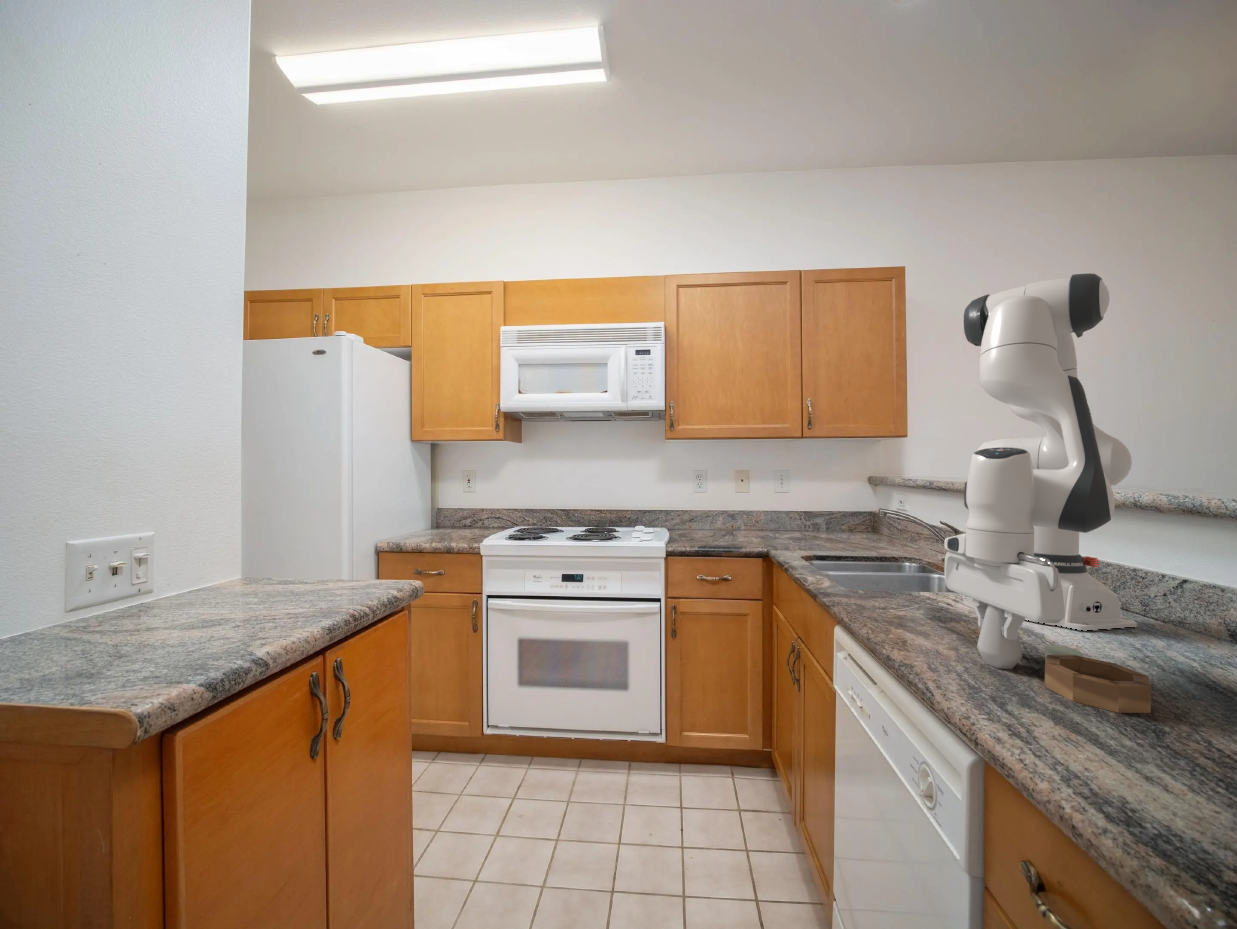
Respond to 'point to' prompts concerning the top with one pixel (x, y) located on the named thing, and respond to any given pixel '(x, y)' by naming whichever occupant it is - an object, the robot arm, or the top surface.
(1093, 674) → the walnut ring
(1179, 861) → the top surface
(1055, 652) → the smooth pale green pebble
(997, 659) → the salt shaker
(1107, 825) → the top surface
